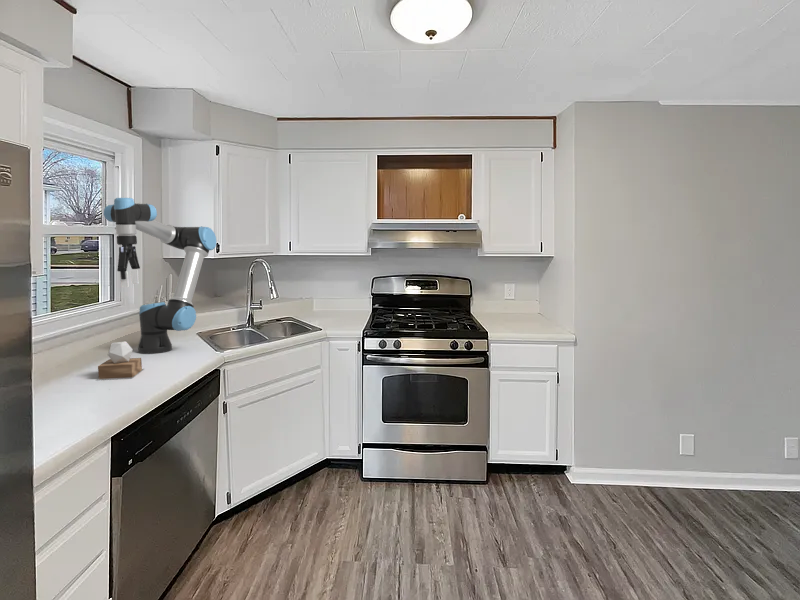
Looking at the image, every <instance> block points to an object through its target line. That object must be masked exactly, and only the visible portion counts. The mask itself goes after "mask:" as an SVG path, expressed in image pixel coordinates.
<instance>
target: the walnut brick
mask: <svg viewBox="0 0 800 600" xmlns="http://www.w3.org/2000/svg"><path fill="white" fill-rule="evenodd" d="M142 369H143V365H142V357H136V358H134V357H133V358H132V357H130V359H129V362H122V363H114V362H113V361H112V360H111V359H110V358H109V359H108V360H106V361H104V362H102V363H101V364H99V365H97V371H98V375H97V376H98V378H99V379H110V378H132V377H134V376H135V375H136V374H137V373H139V372H140V371H141V370H142ZM141 372H142V371H141ZM141 372H140V373H141ZM140 373H139V374H140ZM136 376H137V375H136ZM136 376H135V377H136ZM135 377H134V378H135ZM132 379H133V378H132Z"/></svg>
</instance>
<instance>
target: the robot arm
mask: <svg viewBox="0 0 800 600" xmlns="http://www.w3.org/2000/svg"><path fill="white" fill-rule="evenodd" d="M157 215H158V212H157V209H156V207H155V205H153V204H150V203H149V204H148V203H135V201H134V198H131V197H116V198H114V201H113V204H109V205H106V206H105V208H103V216H104V218H105V219H106V221H108V222H112V223H115V227H114V230H115V231H116V235H117V236H116V244H117V245H119V247H118V259H117V261H118V262H117V272H119V275H120V288H129V287H130V286H129V273H128V272H129V271H127V270H128V265H130V278H131V285H139V284H140V282H139V281H140V280H139V279H140V278H139V269H141V266H140V264H139V258H138V254H137V250H136V246H135V245H137V244H138V239H137V236H136V234H137V231H139V232H142V233H144V234H147V235H149V236H152V237H154V238H156V239H159V240H160V242H161V243H163V244H165V245H168V246H170V247H173V248H174V249H179V250H183V251H184V252H185V255H184V260H183V263H182V266H181V269H180V273H179V276H178V279H177V283H176V286H175V290H174V293H173V296H172V297H171V298H169V299H168V301H167V305H166V302H165V301H162V302H155V303H147V304H146V303H145V304H143V305H140V307H139V312H138V315H139V324H140V338H139V341H138V345H137V353H140V354H159V353H166V352H169V351H172V350H173V346H172V342H171V339H170V337H169V335H168V331H176V332H181V331H187V330H189V329H191V328H192V327H193V326H194V324H195V323H196V320H197V312H196V309H195V308H194V307H195V306H194V304H193V302H192V301H193V298H194V295H195V291H196V287H197V283H198V281H199V280H198V279H199V275H200V273H201V270H202V266H203V265H202V264H203V262H204V259H205V258H208V256H209V253H210V251H212V250H214V249H215V248H216V246H217V236H216V234H215V231H214V230H213V229H212V228H211V227H208V226H182V227H181V226H174V225H172V224H165V223H163V222H161V221H158V220H156V218H157Z"/></svg>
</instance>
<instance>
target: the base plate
mask: <svg viewBox="0 0 800 600" xmlns="http://www.w3.org/2000/svg"><path fill="white" fill-rule="evenodd" d="M142 371H145V368H142V370H141V371H140V372H139V373H137V374H136V375H135V376H134V377H132V378H110V379H99V377H98V378H97V379H95V381H97V382H98V381H112V380H114V381H117V380H132V379H134V378H135V377H136V376H138V375H139V374H140V373H142Z"/></svg>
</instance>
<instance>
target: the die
mask: <svg viewBox="0 0 800 600" xmlns="http://www.w3.org/2000/svg"><path fill="white" fill-rule="evenodd" d="M133 350H134V349H133V348H132V346H131V345H130V343H128V342H127V341H118V342H111V344H110V347H109V350H108V353H107V357H109V359H111V360H112V361H113V362H114V363H122V362H129V359H130V358H131V356H132V353H133Z"/></svg>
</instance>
